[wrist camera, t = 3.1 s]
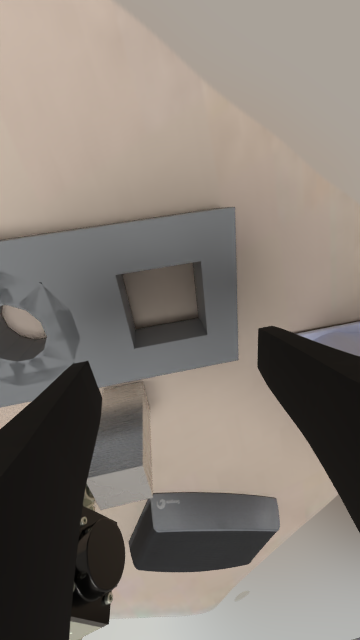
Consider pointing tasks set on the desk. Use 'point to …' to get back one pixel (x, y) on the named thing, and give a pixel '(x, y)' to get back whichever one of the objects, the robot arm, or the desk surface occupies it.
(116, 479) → the square peg
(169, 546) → the external hard drive
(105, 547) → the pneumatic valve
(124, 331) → the socket plate
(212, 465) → the desk surface
